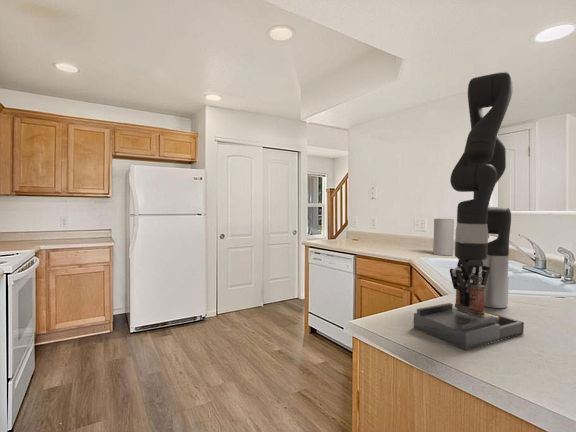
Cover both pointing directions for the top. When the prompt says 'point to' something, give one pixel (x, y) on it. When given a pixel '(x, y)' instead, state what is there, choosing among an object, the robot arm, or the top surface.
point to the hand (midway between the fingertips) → (469, 304)
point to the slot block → (456, 326)
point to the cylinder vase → (443, 237)
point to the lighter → (473, 298)
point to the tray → (506, 326)
